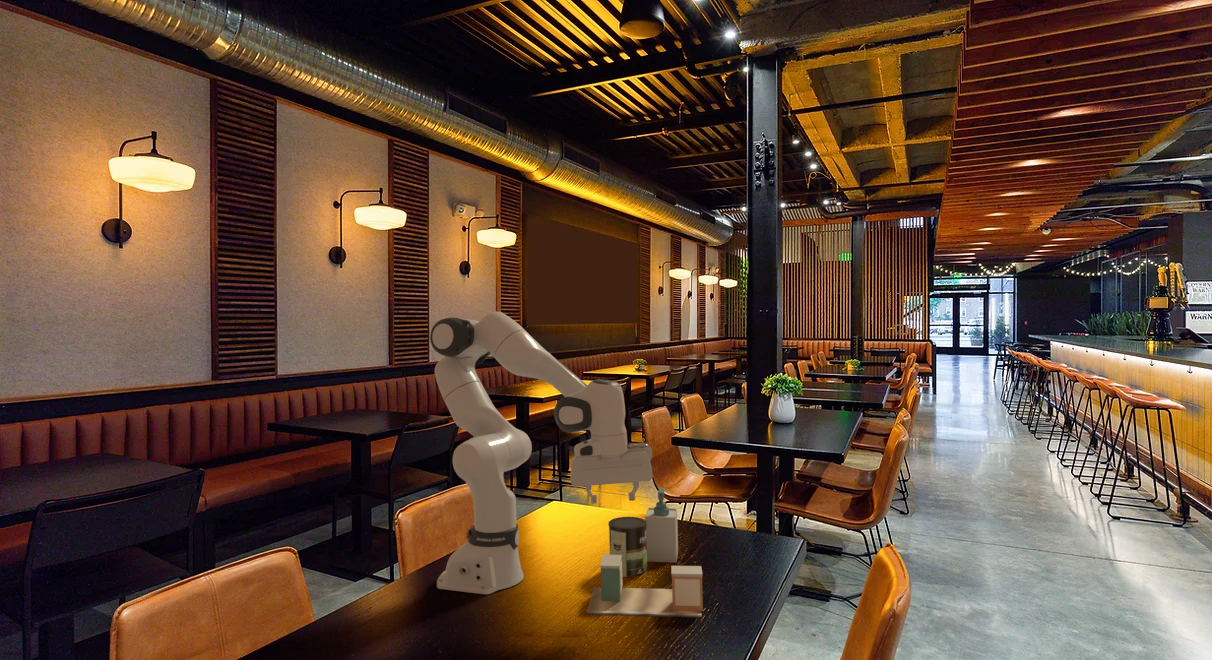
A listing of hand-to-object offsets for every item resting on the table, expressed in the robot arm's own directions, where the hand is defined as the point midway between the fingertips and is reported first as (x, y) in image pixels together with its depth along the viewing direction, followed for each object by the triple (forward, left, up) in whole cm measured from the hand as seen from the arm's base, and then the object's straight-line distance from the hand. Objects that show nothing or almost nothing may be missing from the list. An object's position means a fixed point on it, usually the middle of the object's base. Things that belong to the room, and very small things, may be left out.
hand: (613, 501), depth 144 cm
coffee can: (+2, +14, -24) cm, 28 cm away
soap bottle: (+11, +27, -24) cm, 38 cm away
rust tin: (+17, -7, -22) cm, 29 cm away
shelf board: (+7, -4, -24) cm, 25 cm away
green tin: (-1, -2, -22) cm, 22 cm away
